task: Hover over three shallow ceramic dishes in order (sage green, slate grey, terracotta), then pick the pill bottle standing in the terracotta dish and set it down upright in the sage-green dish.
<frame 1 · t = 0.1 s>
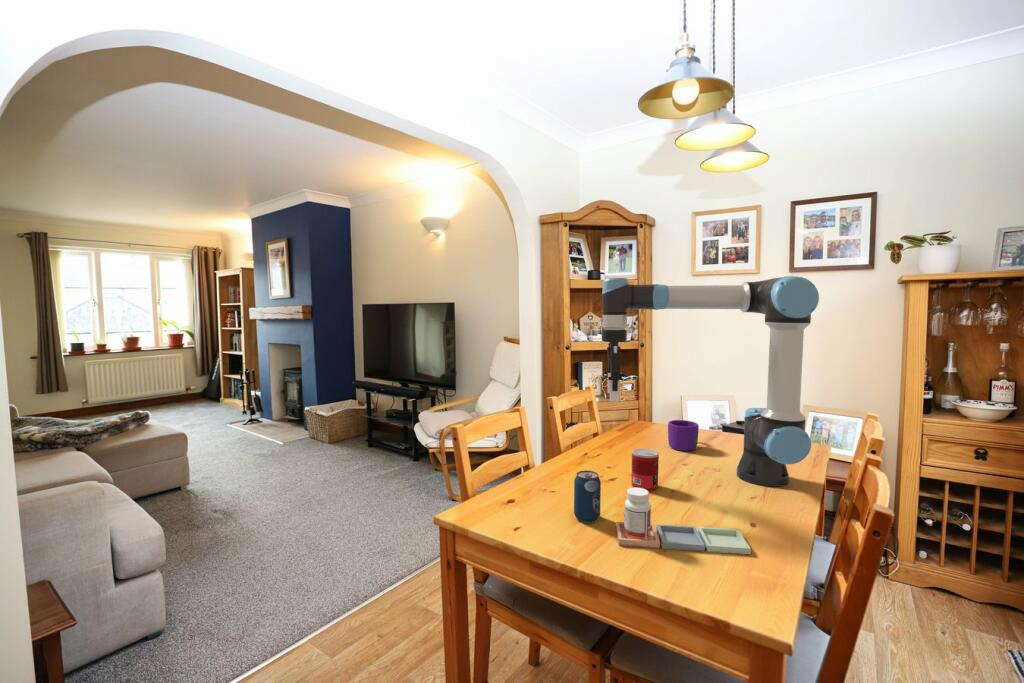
hand: (613, 397, 150), 28 cm above the table, fingers open, 13 cm apart
soda can: (586, 518, 129), on the table
dish slate: (679, 540, 117), on the table
mug: (683, 446, 193), on the table
dish terracotta: (636, 537, 118), on the table
canned food: (644, 487, 151), on the table
pill bottle: (636, 536, 118), resting on dish terracotta
dish sage: (722, 543, 115), on the table
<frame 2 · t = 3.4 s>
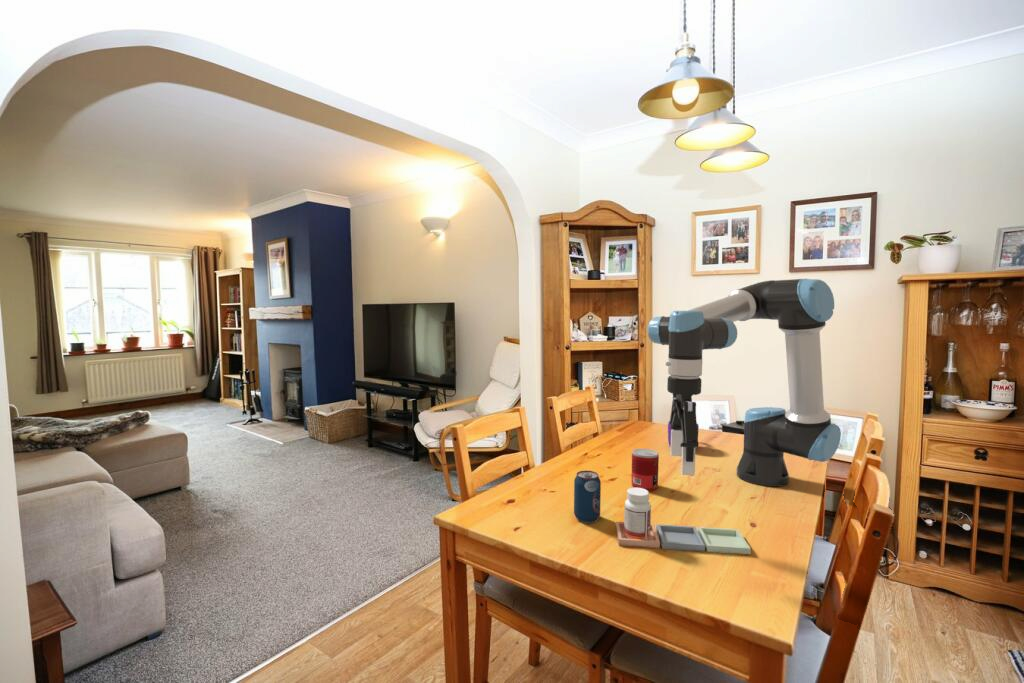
hand: (681, 464, 115), 19 cm above the table, fingers open, 13 cm apart
nothing on the table moved.
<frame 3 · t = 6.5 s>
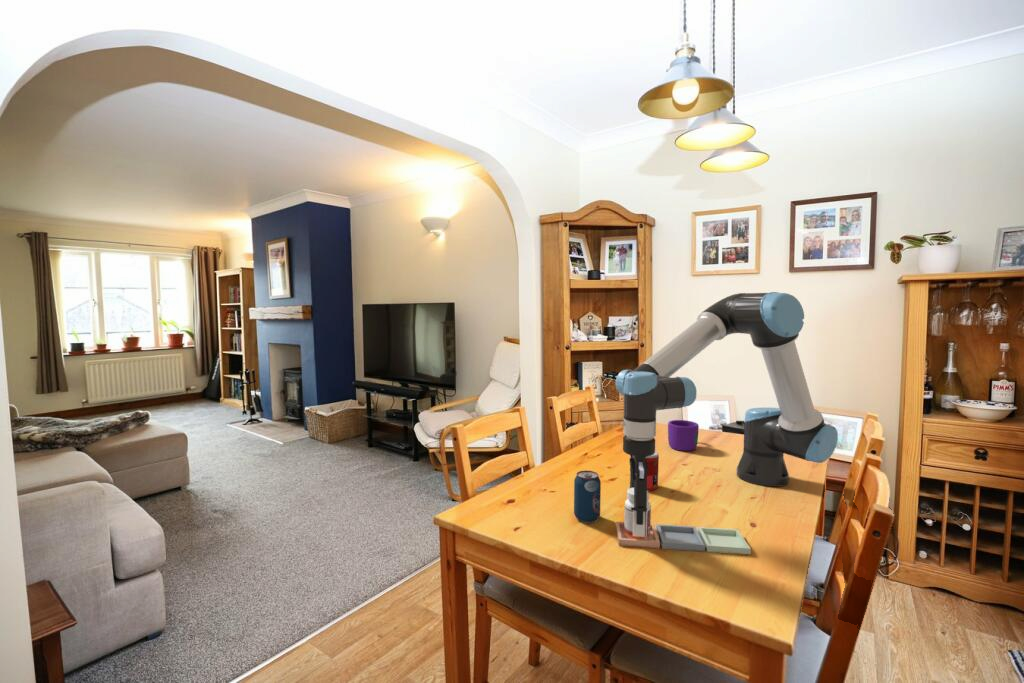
hand: (637, 528, 118), 2 cm above the table, fingers closed on pill bottle, 6 cm apart
pill bottle: (636, 536, 118), resting on dish terracotta, touching gripper
everything else where it was.
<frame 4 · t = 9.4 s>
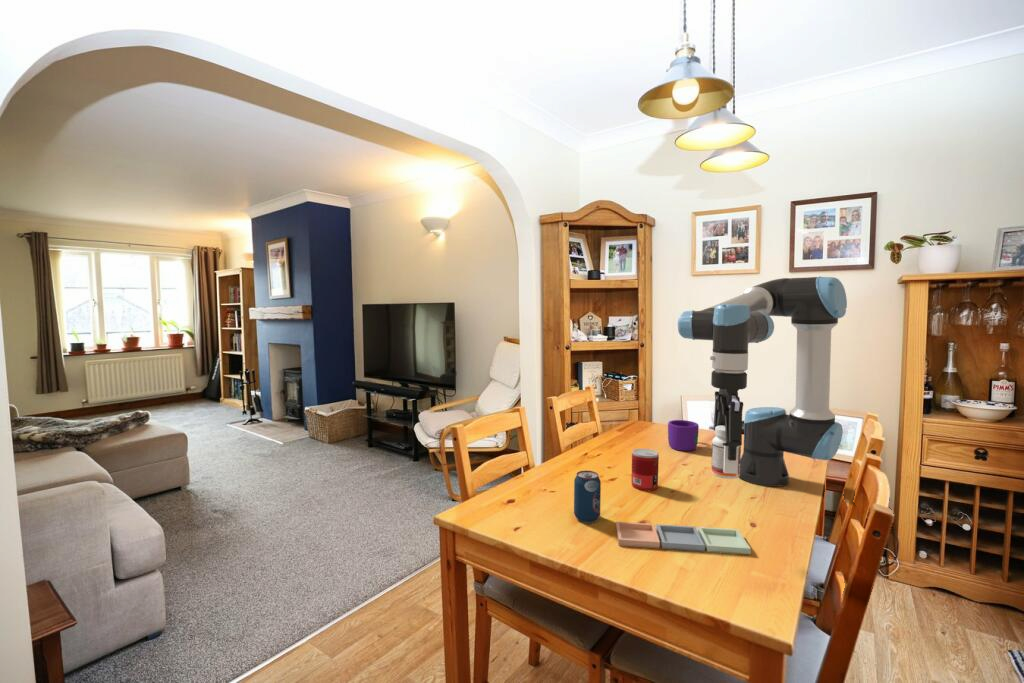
hand: (725, 467, 114), 18 cm above the table, fingers closed on pill bottle, 6 cm apart
pill bottle: (725, 475, 114), point 16 cm above the table, touching gripper
everything else where it was.
when the fingers open (3 cm above the table, at t = 12.4 s): pill bottle drops 1 cm, resting on dish sage.
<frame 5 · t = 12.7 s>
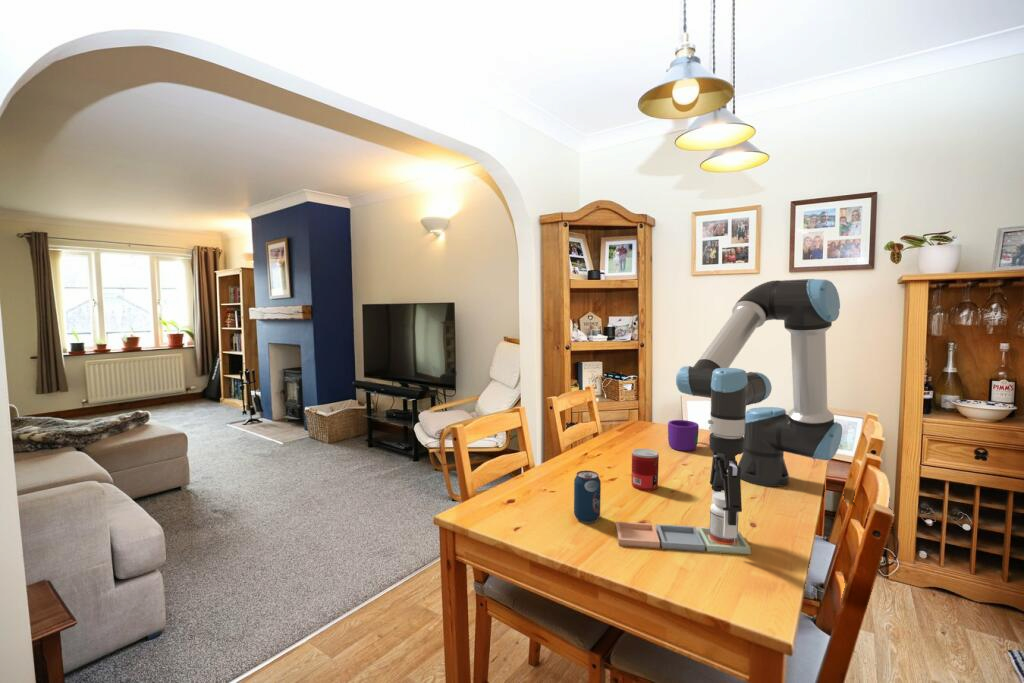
hand: (723, 526, 115), 4 cm above the table, fingers open, 9 cm apart
pill bottle: (723, 542, 115), resting on dish sage
everything else where it was.
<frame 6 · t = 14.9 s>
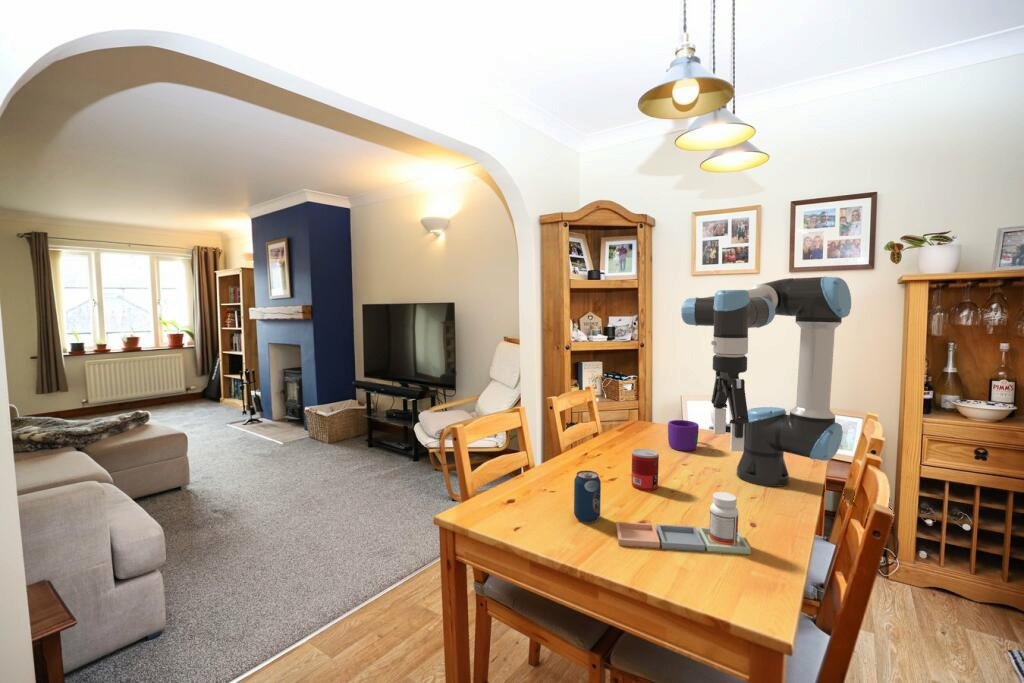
hand: (727, 441, 117), 24 cm above the table, fingers open, 13 cm apart
nothing on the table moved.
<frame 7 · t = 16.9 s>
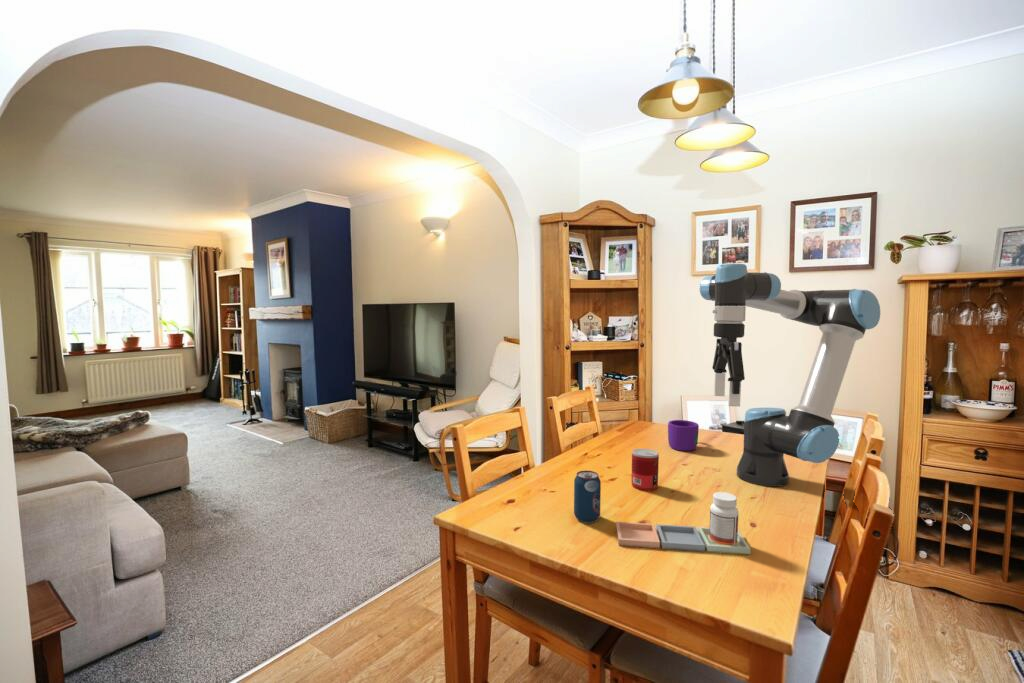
hand: (726, 400, 131), 31 cm above the table, fingers open, 13 cm apart
nothing on the table moved.
at the end: pill bottle inside the target area on the dish sage (0.0 cm from its centre), point 0.1 cm above the dish sage's base; pill bottle tilted 0°; the gripper is holding nothing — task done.
